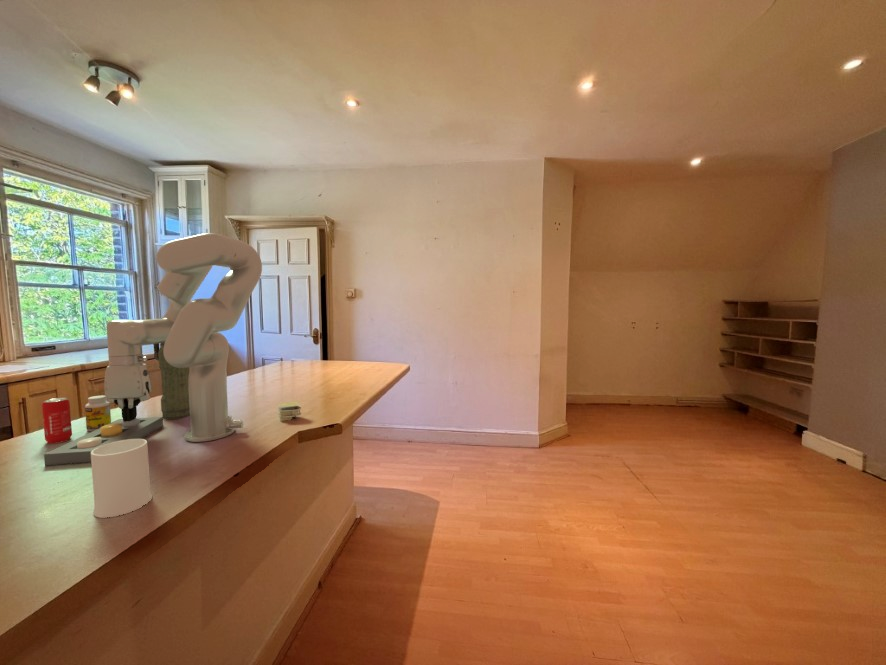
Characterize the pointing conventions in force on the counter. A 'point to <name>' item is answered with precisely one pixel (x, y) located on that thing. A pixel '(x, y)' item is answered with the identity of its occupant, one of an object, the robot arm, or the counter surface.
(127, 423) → the slate button
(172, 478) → the counter surface
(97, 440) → the ivory button
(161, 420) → the panel
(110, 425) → the amber button
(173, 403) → the thermos
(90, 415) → the supplement bottle
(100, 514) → the white oval container
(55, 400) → the beverage can
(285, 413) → the stacked layers on plate
